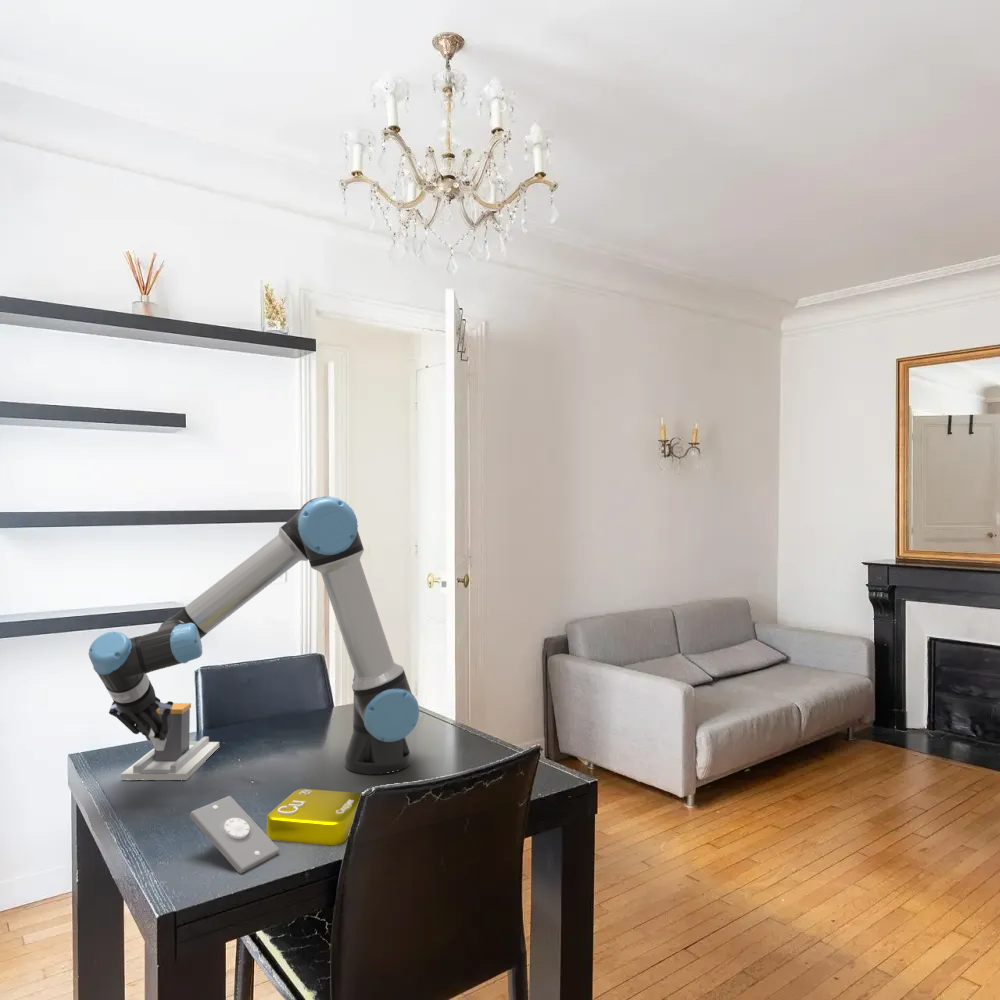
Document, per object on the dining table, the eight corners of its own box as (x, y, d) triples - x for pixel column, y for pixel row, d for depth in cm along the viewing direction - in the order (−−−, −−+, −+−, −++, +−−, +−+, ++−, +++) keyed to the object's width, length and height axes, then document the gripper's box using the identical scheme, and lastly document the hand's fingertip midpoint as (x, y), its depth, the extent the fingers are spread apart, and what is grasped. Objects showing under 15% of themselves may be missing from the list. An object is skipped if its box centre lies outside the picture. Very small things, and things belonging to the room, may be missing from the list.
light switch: (244, 865, 126) (192, 807, 132) (231, 892, 127) (181, 833, 133) (282, 845, 133) (231, 790, 139) (270, 870, 134) (220, 816, 141)
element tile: (340, 848, 137) (340, 821, 137) (262, 841, 139) (262, 815, 139) (368, 814, 151) (368, 790, 151) (297, 808, 154) (297, 785, 154)
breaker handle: (181, 761, 174) (182, 709, 174) (153, 761, 174) (153, 709, 174) (190, 753, 180) (191, 703, 180) (162, 753, 180) (163, 703, 180)
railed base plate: (185, 780, 167) (186, 766, 167) (120, 780, 166) (121, 766, 166) (219, 748, 189) (219, 735, 189) (161, 747, 188) (162, 735, 188)
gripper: (91, 705, 154) (126, 760, 170) (157, 704, 154) (186, 760, 171) (104, 673, 159) (137, 730, 176) (168, 673, 160) (195, 729, 176)
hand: (161, 744), depth 173 cm, fingers closed
